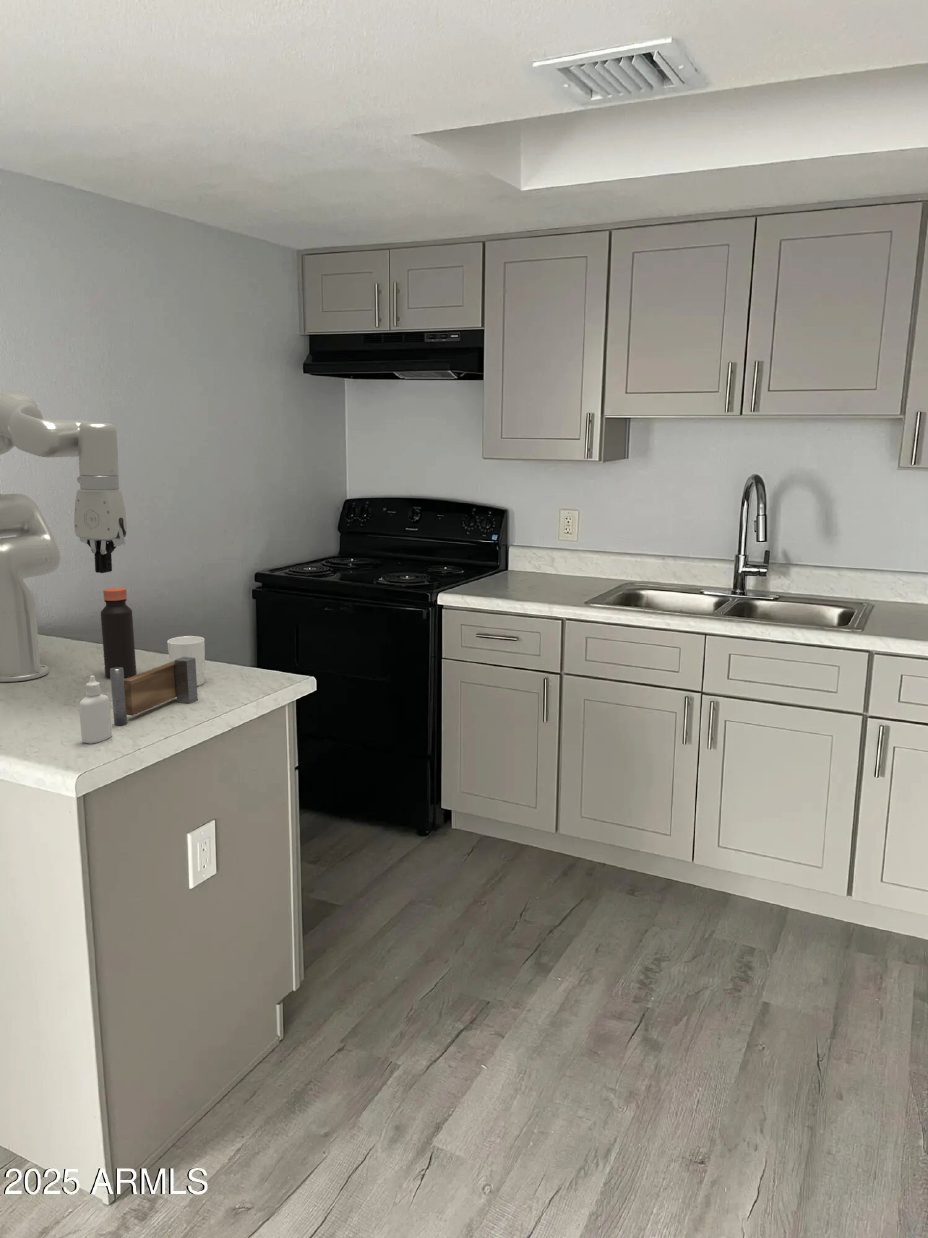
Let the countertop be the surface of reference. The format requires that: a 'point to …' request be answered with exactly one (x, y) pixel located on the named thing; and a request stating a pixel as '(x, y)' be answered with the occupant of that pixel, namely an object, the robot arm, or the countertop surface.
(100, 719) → the eye dropper bottle
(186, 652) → the white cup
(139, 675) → the brown wooden board
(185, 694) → the post
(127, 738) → the countertop surface
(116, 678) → the grey glass test tube
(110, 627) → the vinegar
